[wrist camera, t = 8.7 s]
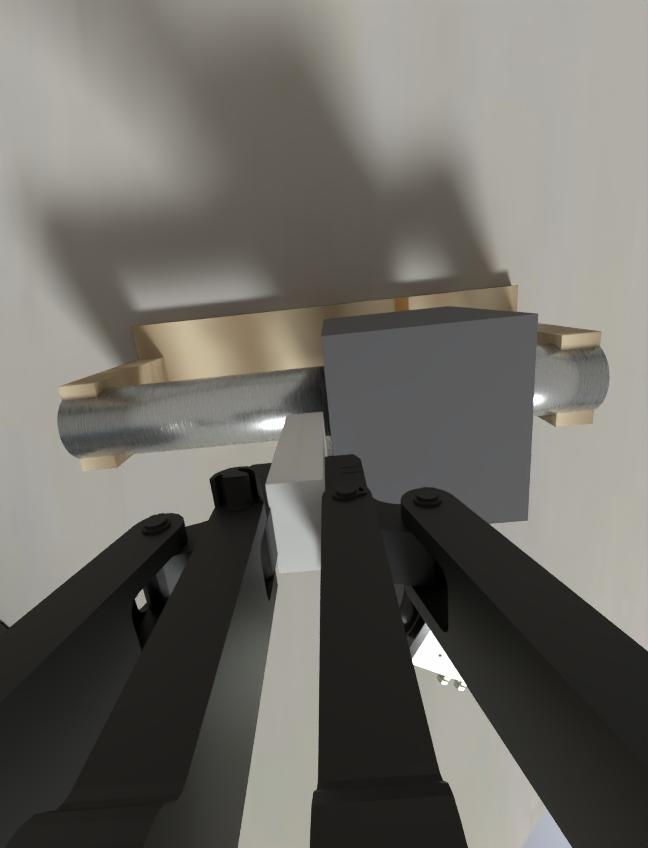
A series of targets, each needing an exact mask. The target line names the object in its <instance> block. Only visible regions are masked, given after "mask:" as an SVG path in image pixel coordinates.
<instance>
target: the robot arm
mask: <svg viewBox="0 0 648 848" xmlns="http://www.w3.org/2000/svg"><path fill="white" fill-rule="evenodd" d="M210 484H211V489H212V494H213V499H214V504H215V508H214V510H213V512H212V514H211V516H210V518H209V520H208V521H205V522H202V523H198V524H194V525H191V526H187V527H185V523H184V519H183V517H182V516H180V515H179V514H174V513H167V514H164V513H161V514H158V515H157V514H156V515H153V516H150V517H149V518H147V519H145V520H142V521H141V522H139V523H138V524H136V525H134V526H133V527H132V528H131V529H130V530H128V531H127V532H126V533H125V534H123V535H122V536H121V537H120V538H119V539H117V540H116V541H115V542H114V543H112V544H111V545H110V546H109V547H108V548H106V549H105V550H104V551H103V552H101V553H100V554H99V555H98V556H97V557H95V558H94V559H93V560H92V561H90V562H89V563H88V564H87V565H86V566H84V567H83V568H82V569H81V570H79V571H78V572H77V573H76V574H75V575H73V576H72V577H71V578H70V579H68V580H67V581H66V582H65V583H64V584H62V585H61V586H60V587H59V588H57V589H56V590H55V591H54V592H53V593H51V594H50V595H49V596H48V597H46V598H45V599H44V600H43V601H42V602H40V603H39V604H38V605H37V606H35V607H34V608H33V609H32V610H31V611H29V612H28V613H27V614H26V615H24V616H23V617H22V618H21V619H20V620H18V621H17V622H16V623H15V624H13V625H12V626H11V627H10V628H9V629H7V628H6V627H5V626H3V625H2V624H1V623H0V848H238V842H239V835H240V829H241V822H242V816H243V809H244V803H245V796H246V789H247V783H248V776H249V770H250V763H251V757H252V750H253V744H254V737H255V731H256V724H257V717H258V711H259V704H260V698H261V691H262V685H263V678H264V672H265V665H266V658H267V652H268V645H269V639H270V632H271V626H272V619H273V613H274V606H275V600H276V593H277V586H278V584H277V578H276V572H275V567H276V561H277V562H278V568H279V574H281V573H292V572H303V571H314V570H321V588H320V671H319V755H318V785H317V790H316V791H314V792H313V799H312V808H311V829H310V848H468V846H467V842H466V839H465V835H464V831H463V827H462V823H461V820H460V816H459V813H458V809H457V806H456V802H455V799H454V796H453V793H452V791H451V788H450V786H449V784H448V782H446V781H443V779H442V777H441V774H440V771H439V767H438V764H437V760H436V756H435V752H434V748H433V743H432V739H431V735H430V731H429V727H428V723H427V719H426V715H425V711H424V706H423V702H422V698H421V694H420V690H419V686H418V682H417V678H416V674H415V669H414V665H413V661H412V657H411V653H410V649H409V645H408V641H407V637H406V632H405V628H404V624H403V620H402V616H401V612H400V608H399V604H398V600H397V595H396V591H395V587H394V584H401V585H405V590H406V592H407V595H408V597H409V598H410V600H411V601H412V603H413V604H414V606H415V607H416V609H417V611H418V612H419V614H420V615H421V617H422V618H423V620H424V621H425V623H426V624H427V626H428V627H429V629H430V630H431V632H432V634H433V635H434V637H435V638H436V640H437V641H438V643H439V644H440V646H441V647H442V649H443V650H444V652H445V653H446V655H447V656H448V658H449V660H450V661H451V663H452V664H453V666H454V667H455V669H456V670H457V672H458V673H459V675H460V676H461V678H462V679H463V681H464V682H465V684H466V686H467V687H468V689H469V690H470V692H471V693H472V695H473V696H474V698H475V699H476V701H477V702H478V704H479V705H480V707H481V709H482V710H483V712H484V713H485V715H486V716H487V718H488V719H489V721H490V722H491V724H492V725H493V727H494V728H495V730H496V731H497V733H498V735H499V736H500V738H501V739H502V741H503V742H504V744H505V745H506V747H507V748H508V750H509V751H510V753H511V754H512V756H513V758H514V759H515V761H516V762H517V764H518V765H519V767H520V768H521V770H522V771H523V773H524V774H525V776H526V777H527V779H528V780H529V782H530V784H531V785H532V787H533V788H534V790H535V791H536V793H537V794H538V796H539V797H540V799H541V800H542V802H543V803H544V805H545V807H546V808H547V810H548V811H549V812H550V814H551V816H552V817H553V818H554V820H555V822H556V823H557V825H558V826H559V828H560V829H561V831H562V833H563V834H564V836H565V837H566V839H567V840H568V842H569V843H570V845H571V846H572V848H648V651H647V650H645V649H644V648H643V647H642V646H640V645H639V644H638V643H637V642H635V641H634V640H633V639H632V638H630V637H629V636H628V635H627V634H625V633H624V632H623V631H622V630H621V629H619V628H618V627H617V626H616V625H614V624H613V623H612V622H611V621H609V620H608V619H607V618H606V617H604V616H603V615H602V614H601V613H599V612H598V611H597V610H596V609H594V608H593V607H592V606H591V605H589V604H588V603H587V602H586V601H584V600H583V599H582V598H581V597H579V596H578V595H577V594H576V593H574V592H573V591H572V590H571V589H569V588H568V587H567V586H566V585H564V584H563V583H562V582H561V581H559V580H558V579H557V578H556V577H554V576H553V575H552V574H551V573H549V572H548V571H547V570H546V569H544V568H543V567H542V566H541V565H539V564H538V563H537V562H536V561H534V560H533V559H532V558H531V557H529V556H528V555H527V554H526V553H524V552H523V551H522V550H521V549H519V548H518V547H517V546H516V545H514V544H513V543H512V542H511V541H510V540H508V539H507V538H506V537H505V536H503V535H502V534H501V533H500V532H498V531H497V530H496V529H495V528H493V527H492V526H491V525H490V524H488V523H487V522H486V521H485V520H483V519H482V518H481V517H480V516H478V515H477V514H476V513H475V512H473V511H472V510H471V509H470V508H468V507H467V506H466V505H465V504H463V503H462V502H461V501H460V500H458V499H457V498H456V497H455V496H453V495H452V494H450V493H449V492H447V491H445V490H441V489H437V488H434V487H430V488H429V487H422V488H417V489H413V490H410V491H407V492H406V493H405V494H403V495H402V497H401V500H400V501H401V504H393V503H385V502H382V501H379V500H377V499H374V498H373V497H372V493H371V491H370V489H369V488H367V484H366V479H365V475H364V471H363V467H362V462H361V459H360V458H359V457H357V456H356V455H354V454H348V455H337V456H327V446H326V437H325V428H324V418H323V412H314V413H304V414H294V415H287V416H286V419H285V422H284V425H283V429H282V432H281V435H280V438H279V442H278V445H277V448H276V451H275V455H274V458H273V461H272V463H267V464H256V465H252V466H250V467H248V466H245V467H234V468H229V469H226V470H223V471H220V472H218V473H216V474H214V475H213V476H212V477H211V478H210ZM142 589H143V590H144V594H145V598H146V601H147V603H146V604H145V605H144V606H143V607H142V608H141V609H140V610H139V609H138V608H137V605H136V602H135V598H136V596H137V595H138V593H139V592H140V591H141V590H142Z"/></svg>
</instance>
